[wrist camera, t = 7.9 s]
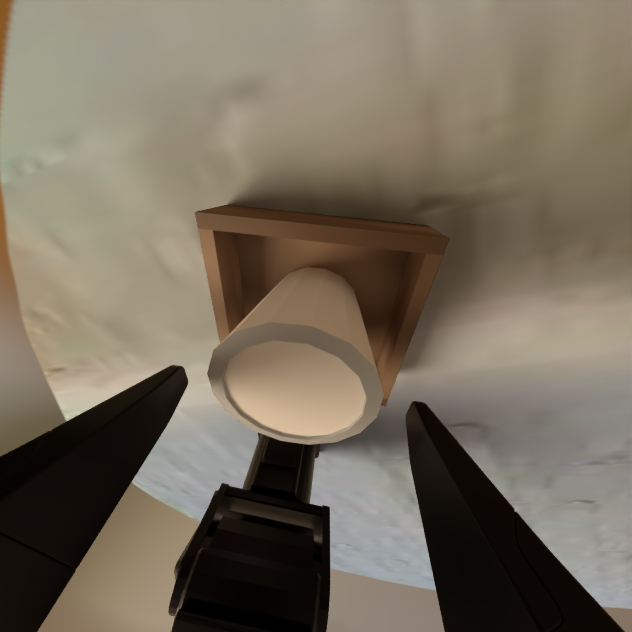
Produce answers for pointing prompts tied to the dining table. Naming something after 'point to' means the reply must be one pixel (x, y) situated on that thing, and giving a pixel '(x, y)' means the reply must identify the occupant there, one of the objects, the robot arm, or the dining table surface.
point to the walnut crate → (323, 252)
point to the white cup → (300, 363)
